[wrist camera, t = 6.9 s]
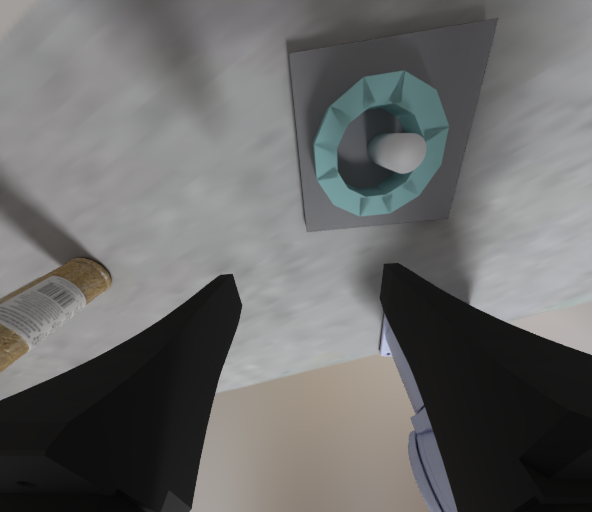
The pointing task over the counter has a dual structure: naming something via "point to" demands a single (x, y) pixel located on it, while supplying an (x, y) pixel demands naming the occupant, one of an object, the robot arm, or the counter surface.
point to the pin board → (388, 117)
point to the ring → (414, 119)
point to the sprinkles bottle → (47, 306)
